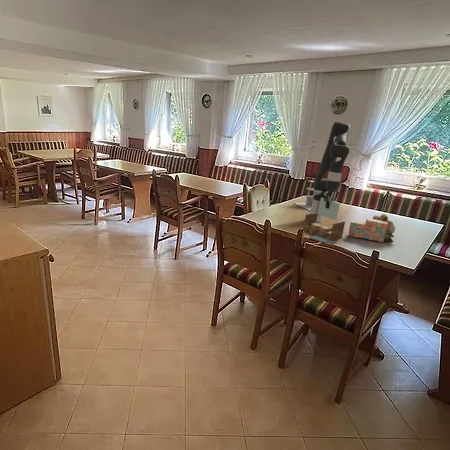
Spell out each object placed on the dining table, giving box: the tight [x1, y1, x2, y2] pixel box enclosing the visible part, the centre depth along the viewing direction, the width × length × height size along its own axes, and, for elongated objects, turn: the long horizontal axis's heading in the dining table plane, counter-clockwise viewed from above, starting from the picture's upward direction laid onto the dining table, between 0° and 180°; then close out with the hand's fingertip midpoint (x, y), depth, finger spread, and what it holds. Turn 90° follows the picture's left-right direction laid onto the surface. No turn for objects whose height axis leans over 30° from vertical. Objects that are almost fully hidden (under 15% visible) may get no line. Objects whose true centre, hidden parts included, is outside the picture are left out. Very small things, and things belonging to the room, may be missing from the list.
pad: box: [308, 234, 337, 245], centre depth 205 cm, size 14×8×1 cm, turn 39°
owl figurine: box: [372, 213, 396, 244], centre depth 215 cm, size 18×12×17 cm, turn 51°
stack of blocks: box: [347, 217, 388, 243], centre depth 213 cm, size 21×6×12 cm, turn 70°
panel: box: [318, 198, 341, 221], centre depth 199 cm, size 12×2×10 cm, turn 39°
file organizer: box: [293, 180, 329, 211], centre depth 291 cm, size 26×35×22 cm
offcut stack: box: [311, 222, 332, 233], centre depth 216 cm, size 16×5×4 cm, turn 39°
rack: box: [302, 212, 346, 241], centre depth 216 cm, size 22×12×11 cm, turn 39°
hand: (328, 207), depth 199 cm, fingers closed on panel, 2 cm apart
